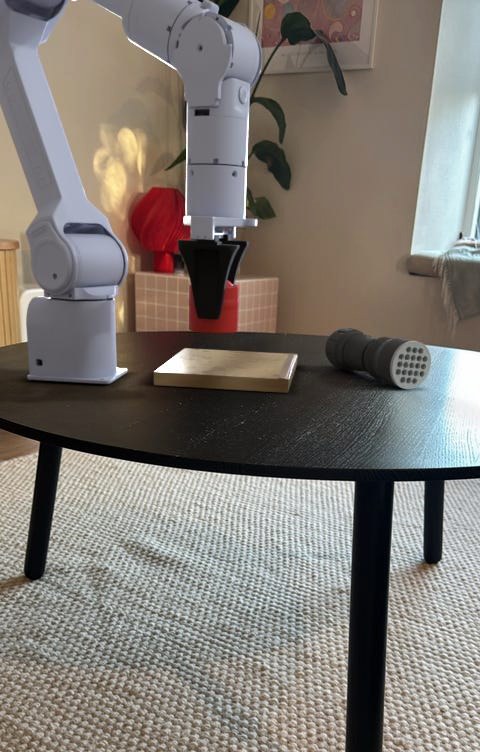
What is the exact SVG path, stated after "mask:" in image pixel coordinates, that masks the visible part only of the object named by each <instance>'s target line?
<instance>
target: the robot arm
mask: <svg viewBox="0 0 480 752" xmlns="http://www.w3.org/2000/svg"><path fill="white" fill-rule="evenodd" d="M72 1H73V2H76V1H77V0H72ZM89 1H90V2H92V3H93V4H95V5H97V6H99V7H100V8H103V9H104V10H107V11H108V12H110V13H112V14H114V15H115V16H117V17H119V18H120V19H121V24H122V29H123V32H124V34H125V36H126V38H127V39H128V41H129V42H131V43H132V44H134V45H135V46H137V47H139V48H140V49H142V50H144V51H145V52H146V53H148V54H150V55H151V56H153V57H155V58H157V59H158V60H160V61H161V62H163V63H165V64H166V65H168V66H169V67H171V68H172V69H174V70H175V71H176V72H177V74H178V75H179V77H180V78H181V80H182V83H183V88H184V101H185V102H186V163H185V164H186V166H185V169H186V170H185V173H186V174H185V176H186V177H185V215H184V216H183V225H184V226H190V239H178V240H177V248H178V251H179V253H180V255H181V257H182V259H183V262H184V265H185V267H186V270H187V273H188V277H189V281H190V284H191V287H192V292H193V298H194V304H195V309H196V314H197V317H198V318H199V319H216V320H217V319H219V318H220V315H221V311H222V307H223V301H224V295H225V288H226V282H227V280H228V281H229V282H231V283H232V284H234V285H236V284H235V283H236V279H237V275H238V272H239V269H240V265H241V263H242V260H243V258H244V256H245V254H246V252H247V250H248V249H249V247H250V245H249V240H236V232H237V231H236V230H237V229H236V228H242V229H243V228H247V227H257V226H258V219H257V218H246V204H247V203H246V202H247V201H246V200H247V172H248V152H249V151H248V149H249V147H248V146H249V124H250V123H249V122H250V95H251V89H252V88H253V87H254V85H255V84H256V82H257V81H258V80H259V77H260V74H261V71H262V67H263V50H262V46H261V43H260V40H259V39H258V37H257V36H256V34H255V33H254V32H253V31H252V30H250V29H249V27H248V26H247V25H246V23H243V22H239V21H234V20H231V19H229V18H227V17H225V16H223V15H221V14H219V10H220V6H219V5H218V4H216V3H214V2H213V1H212V0H202V2H201V1H199V0H89ZM69 3H70V0H0V108H1V111H2V113H3V117H4V120H5V122H6V126H7V129H8V130H9V131H8V132H9V134H10V137H11V139H12V142H13V146H14V148H15V151H16V154H17V157H18V160H19V162H20V165H21V168H22V171H23V174H24V177H25V179H26V183H27V185H28V188H29V191H30V193H31V196H32V200H33V202H34V205H35V208H36V211H37V213H36V215H35V216H34V218H33V219H32V221H31V222H30V223H29V225H28V227H27V229H26V230H25V235H26V239H27V241H28V245H29V249H30V267H31V272H32V274H33V275H32V276H33V277H34V280H35V282H36V283H37V285H38V287H40V289H42V290H43V296H42V295H40V296H34V297H32V298H31V299H30V300H29V303H28V305H27V309H26V317H25V318H26V319H25V323H26V325H25V327H26V343H27V355H28V356H27V357H28V369H29V374H27V375H26V378H27V380H28V381H29V380H30V381H43V382H44V381H46V382H60V383H61V382H62V383H63V382H64V383H78V384H79V383H80V384H96V385H97V384H98V385H110V384H112V383H113V382H115V381H116V380H118V379H119V378H121V377H122V376H124V375H126V374H127V373H128V368H127V367H118V366H117V363H118V362H117V359H118V357H117V327H116V326H117V324H116V323H117V322H116V320H117V319H116V299H115V298H116V297H119V288H120V287H122V285H123V283H124V282H125V281H126V279H127V276H128V272H129V258H128V257H129V256H128V252H127V250H126V248H125V246H124V244H123V242H122V241H121V240H120V239H119V238H118V237H117V236H116V234H115V233H114V231H113V229H112V226H111V225H110V221H109V219H108V217H107V216H106V215H105V214H104V213H102V211H101V210H100V209H98V208H97V207H96V206H95V205H94V204H92V202H91V201H90V200H89V199H88V197H87V194H86V192H85V188H84V186H83V183H82V179H81V177H80V174H79V171H78V168H77V165H76V162H75V159H74V156H73V153H72V151H71V147H70V145H69V141H68V139H67V136H66V133H65V132H66V131H65V130H64V126H63V124H62V120H61V118H60V115H59V112H58V109H57V105H56V104H55V100H54V98H53V94H52V91H51V88H50V86H49V83H48V82H49V81H48V80H47V77H46V74H45V70H44V68H43V65H42V62H41V58H40V56H39V52H38V51H39V47H40V45H42V44H44V43H46V42H47V40H48V39H49V37H50V35H51V34H52V32H53V30H54V28H55V27H56V25H57V23H58V21H59V20H60V18H61V16H62V14H63V13H64V11H65V9H66V8H67V6H68V4H69Z"/></svg>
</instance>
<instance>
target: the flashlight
mask: <svg viewBox="0 0 480 752" xmlns="http://www.w3.org/2000/svg"><path fill="white" fill-rule="evenodd" d="M324 351H325V356H326V359H327V361H328V362H329V363H330V364H331V365H332V366H333V367H335V368H337V369H340V370H343V371H346V372H348V371H349V372H350V371H356V372H364V373H367V374H369V375H370V377H372V378H374V379H377V380H381V381H382V382H384V383H385V384H387V385H390V386H393V387H397V388H401V389H403V390H413V389H416V388H418V387H419V386H420V385H422V384H424V381H426V379H427V378H428V375H429V373H430V371H431V366H432V356H431V352H430V350H429V348H428V347H427V346H426V345H425V344H424V342H421V341H417V340H412V339H408V338H402V337H396V338H393V337H388V336H381V337H378V338H376V337H373V336H371V335H369V334H365V333H363V332H362V331H361V330H359V329H356V328H351V327H343V328H339V329H337V330H335V331H333V332H332V333H331V334H330V335H329V336H328V338H327V340H326V342H325V347H324Z"/></svg>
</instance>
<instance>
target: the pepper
mask: <svg viewBox="0 0 480 752" xmlns="http://www.w3.org/2000/svg"><path fill="white" fill-rule="evenodd" d="M239 309H240V285H238V284H232V283H231V282H229V281H228V280H227V282H226V288H225V295H224V301H223V307H222V311H221V315H220V318H219V319H217V320H216V319H199V318H198V317H197V314H196V309H195V304H194V298H193V292H192V287H191V283H189V284H188V330H189V331H191V332H196V333H204V334H232V333H236V332H238V331H239V312H240V310H239Z"/></svg>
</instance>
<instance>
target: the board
mask: <svg viewBox="0 0 480 752" xmlns="http://www.w3.org/2000/svg"><path fill="white" fill-rule="evenodd" d="M297 366H298V353H292V352H289V353H284V352H283V353H282V352H266V351H265V352H262V351H246V350H245V351H243V350H224V349H209V348H208V349H207V348H205V349H204V348H188V347H184V348H183V349H182V350H180V351H179V352H177V353H176V354H174V356H172V358H170V359H169V360H167V361H166V362H165V363H164V364H162V365H161V366H159V367H158V368H157V369H156V370H153V385H154V386H164V387H179V388H180V387H181V388H197V389H212V390H213V389H215V390H230V391H231V390H232V391H247V392H248V391H249V392H263V393H265V392H266V393H281V394H282V393H283V394H288V393H289V390H290V387H291V385H292V382H293V381H292V380H293V379H294V376H295V372H296V369H297Z"/></svg>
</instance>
